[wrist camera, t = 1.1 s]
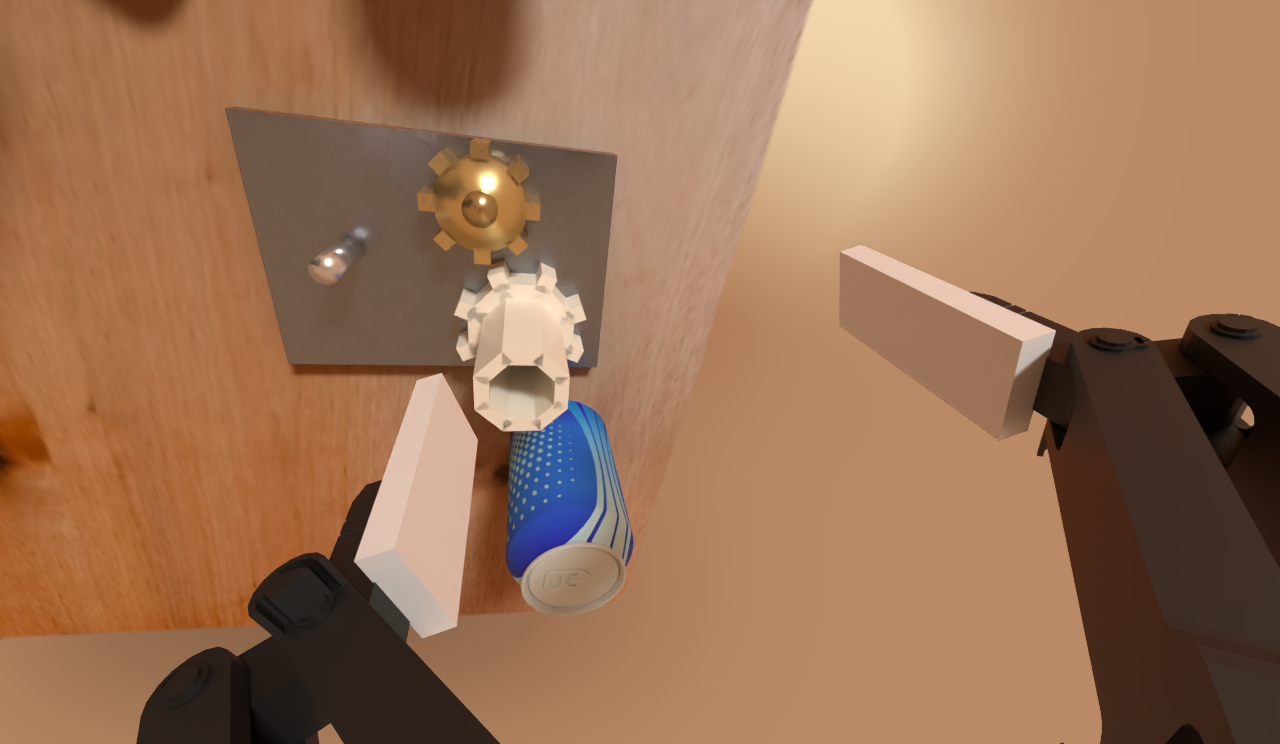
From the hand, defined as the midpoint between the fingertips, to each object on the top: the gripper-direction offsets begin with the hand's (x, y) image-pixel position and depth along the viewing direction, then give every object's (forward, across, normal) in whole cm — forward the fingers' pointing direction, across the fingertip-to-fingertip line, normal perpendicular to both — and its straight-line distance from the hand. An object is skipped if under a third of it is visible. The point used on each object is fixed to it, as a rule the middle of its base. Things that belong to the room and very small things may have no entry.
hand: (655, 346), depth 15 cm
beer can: (+22, -7, -18) cm, 30 cm away
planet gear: (+21, -6, -6) cm, 23 cm away
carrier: (+22, -10, -1) cm, 24 cm away
